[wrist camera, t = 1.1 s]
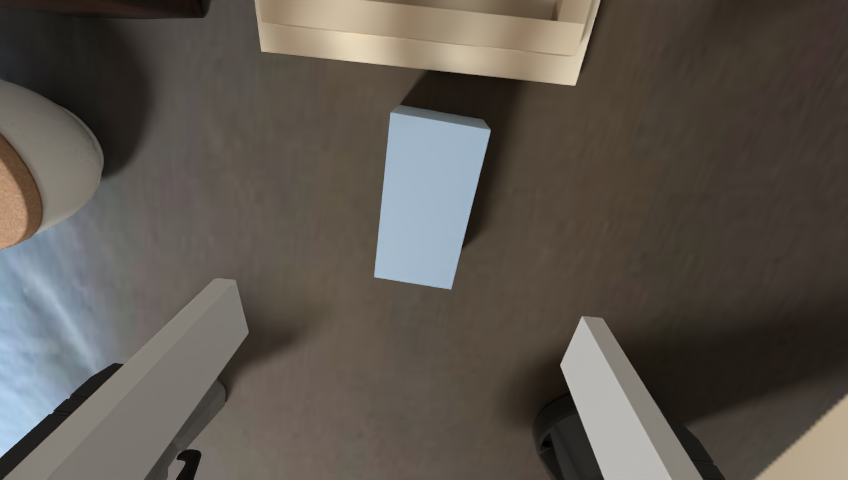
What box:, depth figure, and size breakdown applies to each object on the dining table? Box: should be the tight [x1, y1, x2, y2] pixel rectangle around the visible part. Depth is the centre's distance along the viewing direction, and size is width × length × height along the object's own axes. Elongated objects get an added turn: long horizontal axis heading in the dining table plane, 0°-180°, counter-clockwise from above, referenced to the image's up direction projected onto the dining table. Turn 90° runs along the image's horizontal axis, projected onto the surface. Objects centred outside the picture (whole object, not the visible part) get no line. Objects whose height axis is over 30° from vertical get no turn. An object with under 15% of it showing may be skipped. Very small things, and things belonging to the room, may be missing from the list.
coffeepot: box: [144, 378, 226, 480], centre depth 31 cm, size 15×9×18 cm, turn 95°
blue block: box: [374, 105, 491, 289], centre depth 24 cm, size 12×6×4 cm, turn 171°
